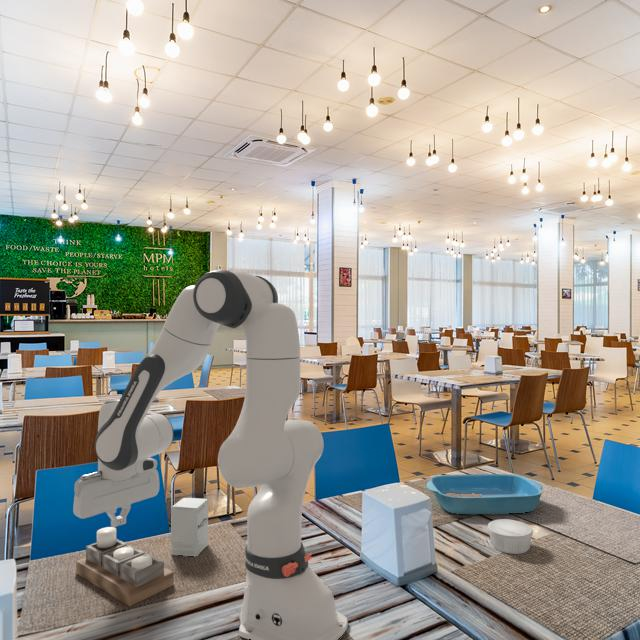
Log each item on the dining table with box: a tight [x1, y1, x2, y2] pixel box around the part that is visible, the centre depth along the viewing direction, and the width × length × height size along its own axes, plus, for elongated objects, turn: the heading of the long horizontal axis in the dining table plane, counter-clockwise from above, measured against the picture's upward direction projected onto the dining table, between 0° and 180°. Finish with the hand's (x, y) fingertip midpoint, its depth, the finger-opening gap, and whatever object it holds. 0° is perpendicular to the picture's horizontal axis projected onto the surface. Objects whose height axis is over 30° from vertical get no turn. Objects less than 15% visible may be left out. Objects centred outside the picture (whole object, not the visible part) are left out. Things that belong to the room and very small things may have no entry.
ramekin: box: [487, 518, 534, 555], centre depth 136 cm, size 11×11×5 cm
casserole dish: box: [426, 473, 543, 515], centre depth 166 cm, size 37×22×7 cm, turn 91°
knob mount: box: [75, 538, 175, 607], centre depth 120 cm, size 23×11×6 cm, turn 52°
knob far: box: [96, 526, 117, 548], centre depth 124 cm, size 4×4×3 cm
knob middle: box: [113, 547, 134, 561], centre depth 120 cm, size 4×4×3 cm
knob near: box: [132, 556, 152, 571], centre depth 115 cm, size 4×4×3 cm
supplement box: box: [170, 497, 209, 558], centre depth 135 cm, size 7×7×13 cm
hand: (118, 525), depth 121 cm, fingers closed
